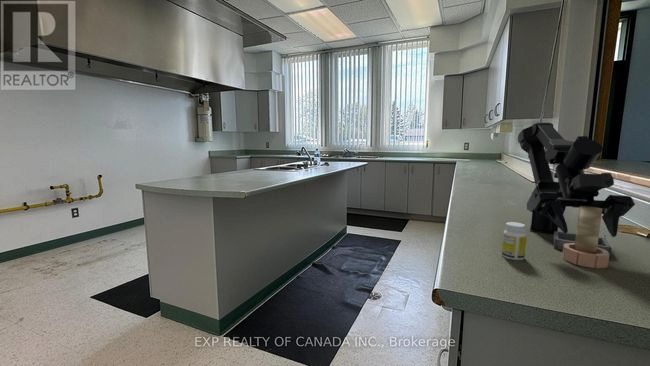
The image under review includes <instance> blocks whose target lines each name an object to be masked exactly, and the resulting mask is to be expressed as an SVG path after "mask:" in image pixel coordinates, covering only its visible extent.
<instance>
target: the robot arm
mask: <svg viewBox="0 0 650 366" xmlns="http://www.w3.org/2000/svg"><path fill="white" fill-rule="evenodd" d="M517 143H518V144H519V146H520V148H521V150H522V151H524V152H525V153H527V156H528V160H529V163H530V167H531V168H530V169H531V172H532V176H533V180H534V183H535V186H534V188H533V190H532V193H531V195H530V197H529V198H528V200H527V202H526V209H527V210H528V211H529V212H531V219H530V220H531V222H530V227H529V231H531V232H536V233H542V234H543V233H545V234H549V235H550V234H551V235H554V231H558V232H559V230H561V232H564V233H569V230H568V225H567V224H568V223H567V222H566V219H565V216H564V213H565V212H566V208H567V207H571V208H576V209H579V207H580V206H590V207H597V208H601V209H602V216H601V220H602V221H603V223H604V225H605V228H606V229H607V231H608V233H609V234H610V236H611V237H612V238H615V237H616V236H617V234H618V230H619V228H618V227H619V221H620V218H621V217H624V216H625V215H626V214H627V213H628V212H629V211H630V210H631V209H633V207H634V206H636V204H635V201H634V198H632V196H630V195H623V194H619V195H618V194H608V196H607V197H606V198H605V199H604V200H600V199H595V197H598V196H599V195H600V193H599V191H601V190H604V189H606V188H607V189H609V188H610V187H612V186H614V184H615V181H614V180H615V179H614V177H613V176H612V173H611V172H609V173H608V172H602V173H586V172H585V170H588V169H590V168H591V166H593V164H594V163H595V161H596V160H597V158H598V157H599V156H600V154H601V153H602V152H603V150H604V149H603V145H602V144H600V143H599V142H598V141H595V140H593V139H591V138H589V137H588V136H587V135H585V136H582V135H580V136H578V135H577V137H576V139H575V141H572V140H567V139H565V138H564V137H563V136H562V135H561V134H560V133H559V131H558V130H557V129H555V128H554V124H553V123H552V122H535V123H533V124H532V125H530V126H528V127H526V128H523V129H521V131H520V132H519V133H518V135H517ZM550 165H557V166H556V167H555V169H554V171H555V172H554V174H552V171H551V167H550ZM554 178H555V179H557V181H554Z"/></svg>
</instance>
